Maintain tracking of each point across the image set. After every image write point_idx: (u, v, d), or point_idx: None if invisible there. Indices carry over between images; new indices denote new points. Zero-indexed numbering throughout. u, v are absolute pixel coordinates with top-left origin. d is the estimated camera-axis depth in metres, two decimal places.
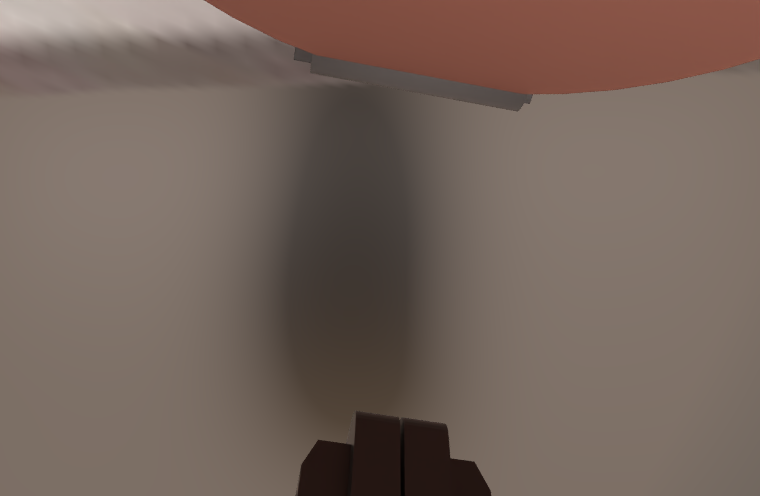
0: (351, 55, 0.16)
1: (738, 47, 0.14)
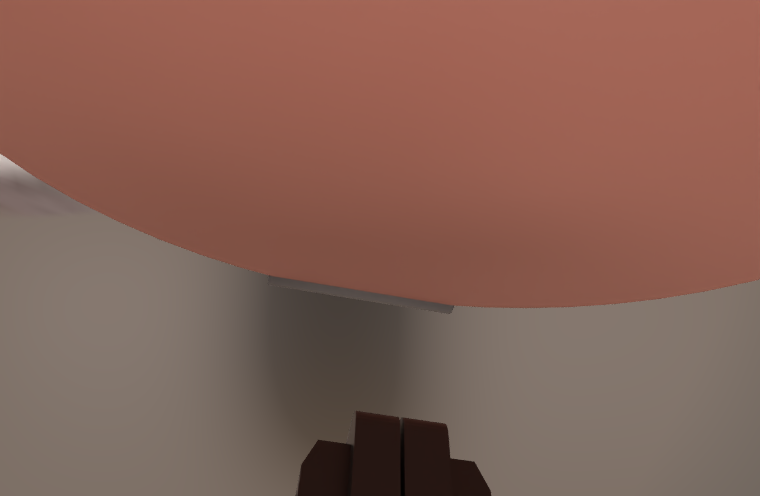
0: (302, 277, 0.19)
1: (622, 294, 0.17)
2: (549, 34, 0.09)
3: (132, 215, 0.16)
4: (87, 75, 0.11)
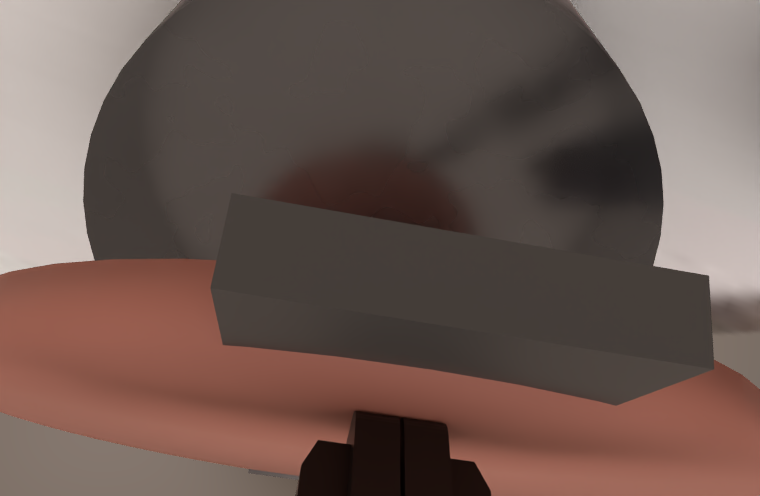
0: (275, 472, 0.24)
1: None
2: None
3: (140, 446, 0.21)
4: (111, 418, 0.16)
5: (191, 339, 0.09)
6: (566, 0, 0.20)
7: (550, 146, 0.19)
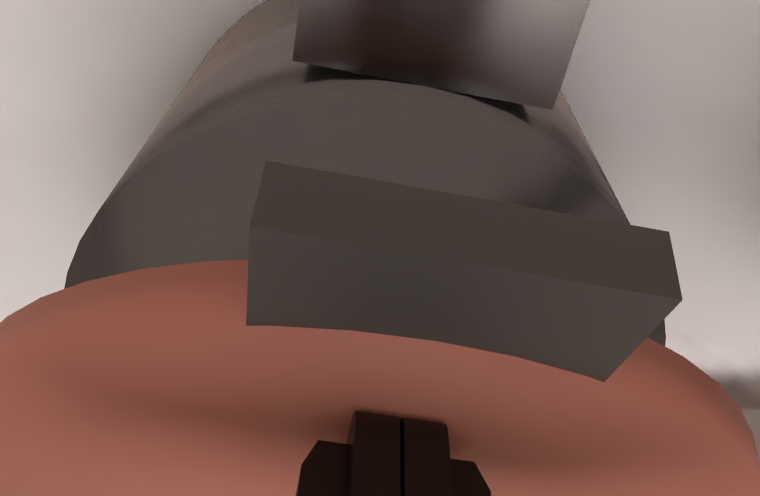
0: None
1: None
2: None
3: None
4: (108, 492, 0.16)
5: (217, 323, 0.10)
6: (563, 122, 0.19)
7: None
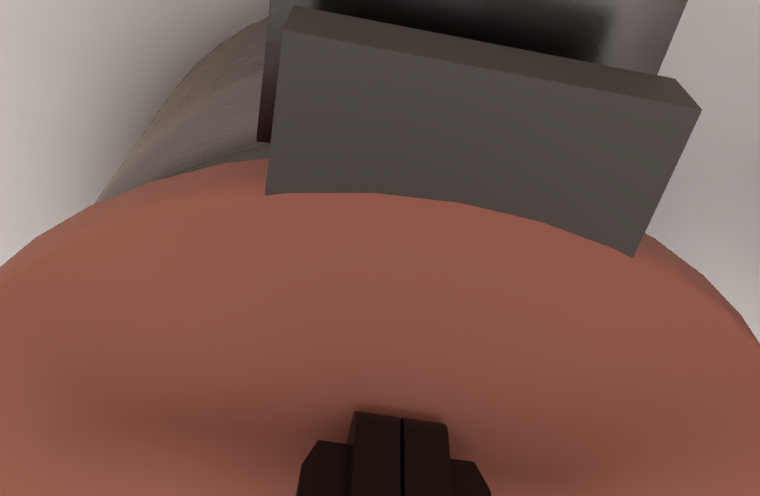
0: None
1: None
2: None
3: None
4: None
5: (233, 197, 0.09)
6: None
7: None
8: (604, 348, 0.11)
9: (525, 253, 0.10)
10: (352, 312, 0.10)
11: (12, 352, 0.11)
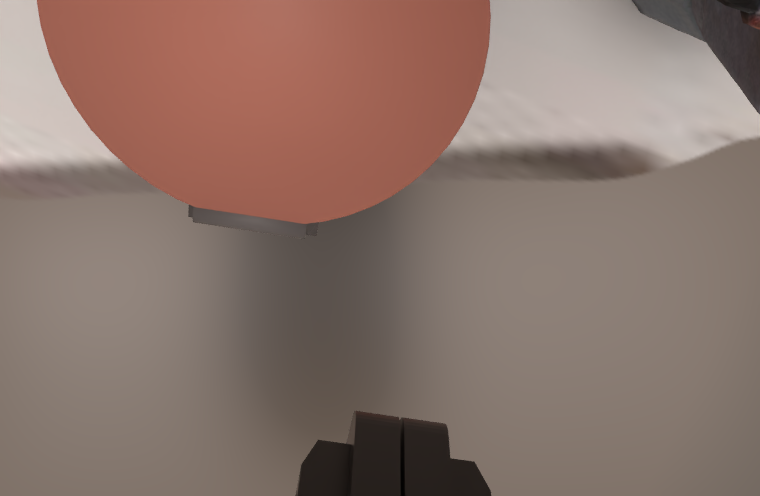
0: (213, 205, 0.32)
1: (392, 180, 0.31)
2: None
3: (120, 141, 0.30)
4: (122, 9, 0.27)
5: None
6: None
7: None
8: None
9: None
10: None
11: None
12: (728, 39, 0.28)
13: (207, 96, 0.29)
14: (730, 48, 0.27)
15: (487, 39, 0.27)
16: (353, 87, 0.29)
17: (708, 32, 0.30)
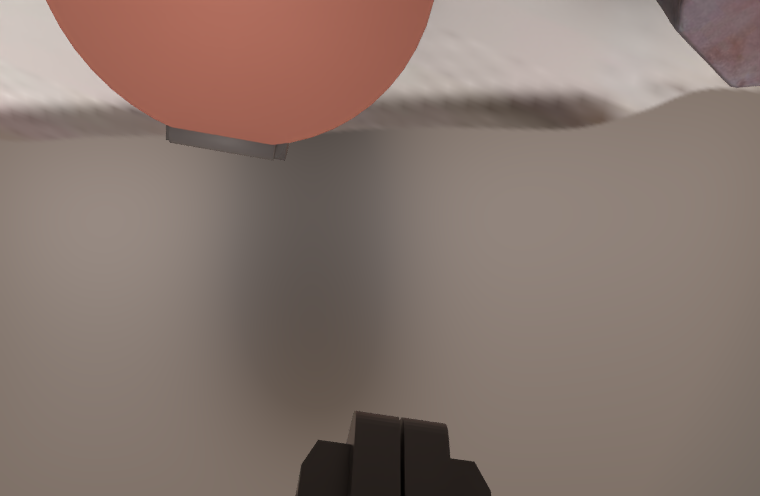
0: (188, 125, 0.34)
1: (353, 103, 0.34)
2: None
3: (101, 61, 0.33)
4: None
5: None
6: None
7: None
8: None
9: None
10: None
11: None
12: None
13: (181, 18, 0.32)
14: None
15: None
16: (315, 11, 0.31)
17: None
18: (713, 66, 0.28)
